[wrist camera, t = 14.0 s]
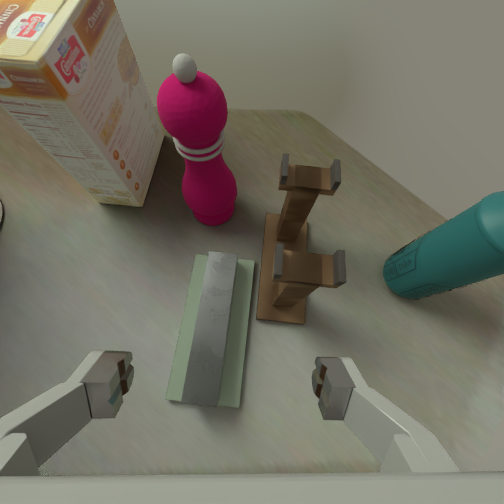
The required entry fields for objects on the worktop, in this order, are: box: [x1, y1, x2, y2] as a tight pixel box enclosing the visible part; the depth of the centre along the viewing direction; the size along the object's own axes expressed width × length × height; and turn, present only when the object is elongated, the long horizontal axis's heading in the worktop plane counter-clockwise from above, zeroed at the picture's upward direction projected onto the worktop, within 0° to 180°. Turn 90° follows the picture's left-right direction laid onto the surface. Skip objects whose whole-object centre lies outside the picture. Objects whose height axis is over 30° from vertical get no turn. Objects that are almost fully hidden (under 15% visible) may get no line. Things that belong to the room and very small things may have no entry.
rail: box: [181, 251, 238, 407], centre depth 27 cm, size 4×16×3 cm, turn 174°
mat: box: [166, 254, 255, 408], centre depth 29 cm, size 8×17×1 cm, turn 174°
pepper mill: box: [157, 54, 237, 226], centre depth 26 cm, size 7×7×20 cm
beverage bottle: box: [383, 191, 504, 300], centre depth 23 cm, size 6×7×20 cm
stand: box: [256, 154, 346, 324], centre depth 26 cm, size 6×15×14 cm, turn 174°
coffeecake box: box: [0, 0, 164, 207], centre depth 29 cm, size 15×7×20 cm, turn 175°
